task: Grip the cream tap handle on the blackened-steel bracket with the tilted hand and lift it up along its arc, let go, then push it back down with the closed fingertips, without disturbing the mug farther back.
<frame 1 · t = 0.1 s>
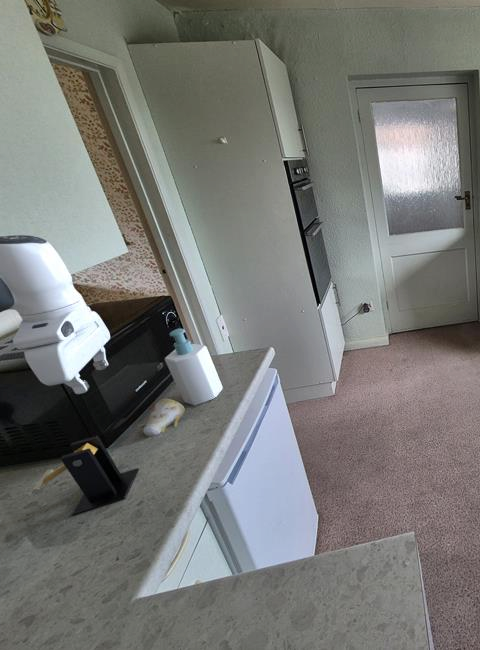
hand: (93, 379, 79), 26 cm above the worktop, tool pointing down, fingers open, 8 cm apart
soap bottle: (204, 396, 116), on the worktop
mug: (167, 427, 104), on the worktop
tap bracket: (110, 494, 84), on the worktop
tap lever: (65, 466, 78), point 10 cm above the worktop, hinge at -25.0°
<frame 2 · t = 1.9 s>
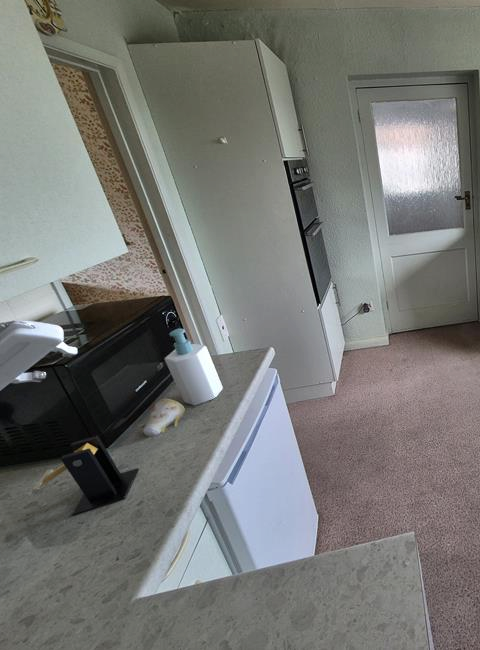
hand: (59, 365, 83), 27 cm above the worktop, tool tilted 45°, fingers open, 8 cm apart
nothing on the worktop moved.
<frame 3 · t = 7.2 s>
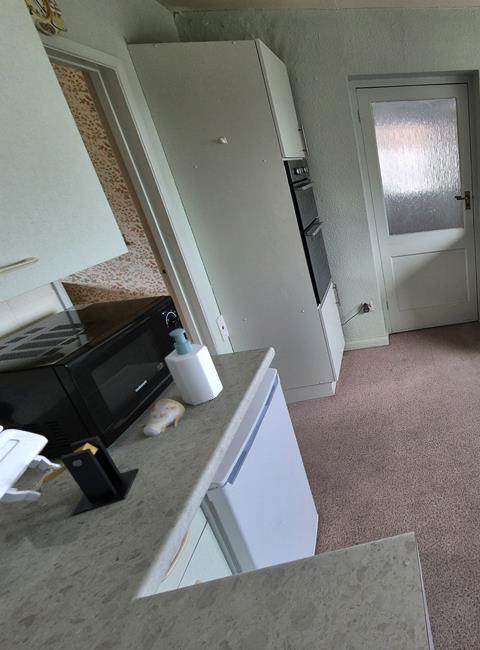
hand: (49, 482, 78), 8 cm above the worktop, tool tilted 45°, fingers closed on tap lever, 5 cm apart
tap lever: (65, 466, 78), point 10 cm above the worktop, hinge at -25.1°, touching gripper
everything else where it was.
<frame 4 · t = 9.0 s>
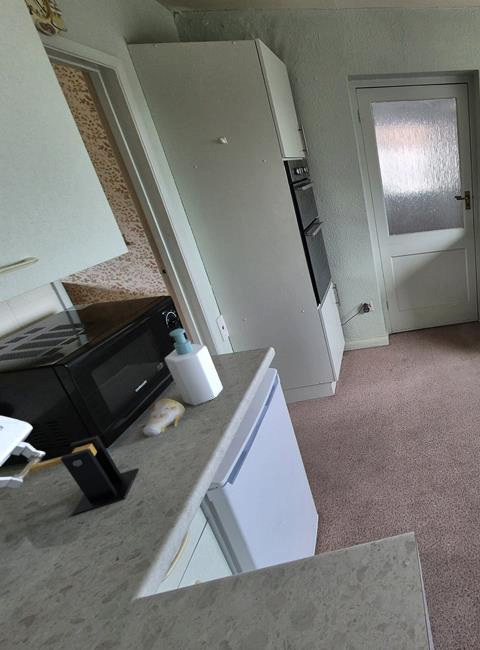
hand: (32, 469, 76), 12 cm above the worktop, tool tilted 45°, fingers closed on tap lever, 5 cm apart
tap lever: (58, 460, 77), point 12 cm above the worktop, hinge at -0.6°, touching gripper
everything else where it was.
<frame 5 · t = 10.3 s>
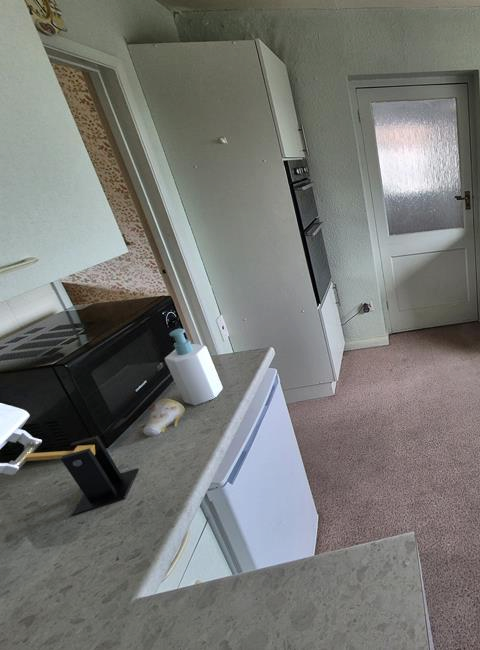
hand: (29, 456, 75), 15 cm above the worktop, tool tilted 45°, fingers closed on tap lever, 5 cm apart
tap lever: (56, 455, 77), point 13 cm above the worktop, hinge at 18.6°, touching gripper
everything else where it was.
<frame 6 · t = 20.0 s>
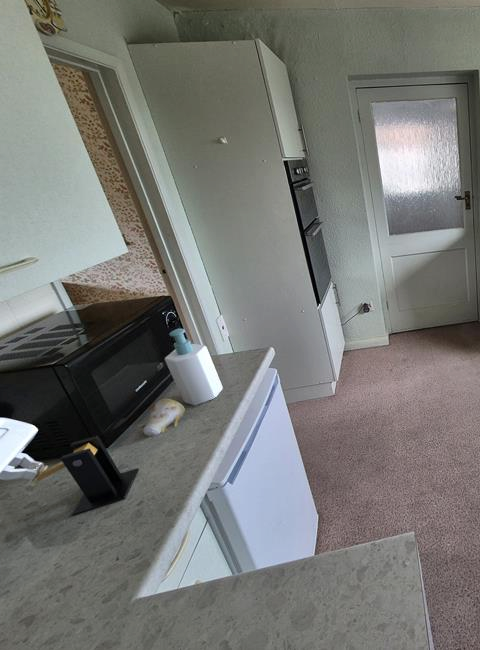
hand: (38, 471, 77), 11 cm above the worktop, tool tilted 45°, fingers closed
tap lever: (62, 464, 78), point 11 cm above the worktop, hinge at -16.6°
everything else where it was.
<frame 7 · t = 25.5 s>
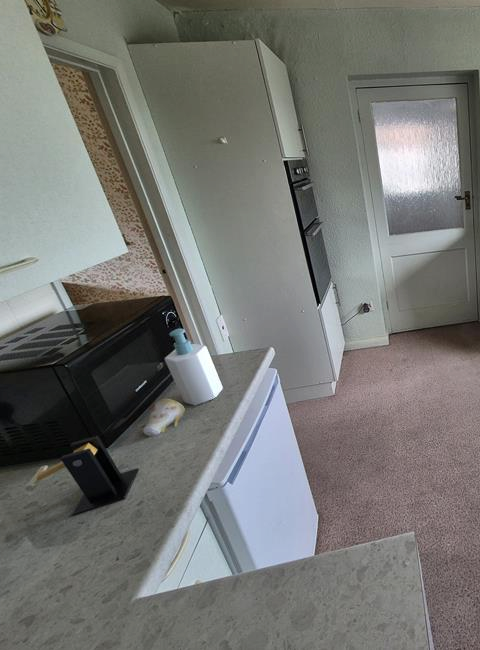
nothing on the worktop moved.
at the end: tap lever reached +22° during the clip, -17° at the end; tap lever at -17° (first picture: -25°); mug moved 0.2 cm from its start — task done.
